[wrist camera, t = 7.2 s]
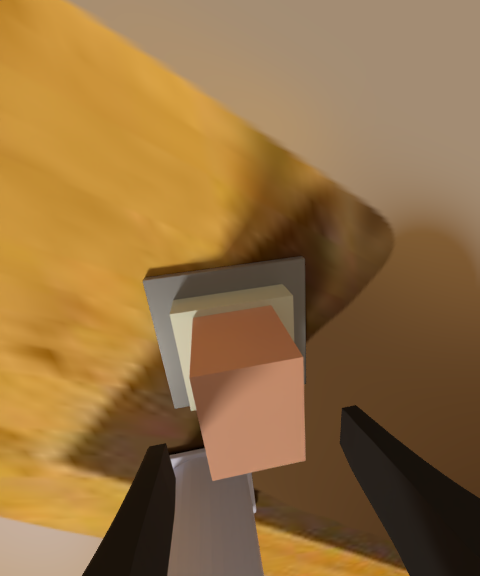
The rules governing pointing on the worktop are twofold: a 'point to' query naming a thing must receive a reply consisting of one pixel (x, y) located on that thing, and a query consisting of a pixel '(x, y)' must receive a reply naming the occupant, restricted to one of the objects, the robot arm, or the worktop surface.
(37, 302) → the worktop surface
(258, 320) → the terracotta brick
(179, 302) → the stepped square pedestal
